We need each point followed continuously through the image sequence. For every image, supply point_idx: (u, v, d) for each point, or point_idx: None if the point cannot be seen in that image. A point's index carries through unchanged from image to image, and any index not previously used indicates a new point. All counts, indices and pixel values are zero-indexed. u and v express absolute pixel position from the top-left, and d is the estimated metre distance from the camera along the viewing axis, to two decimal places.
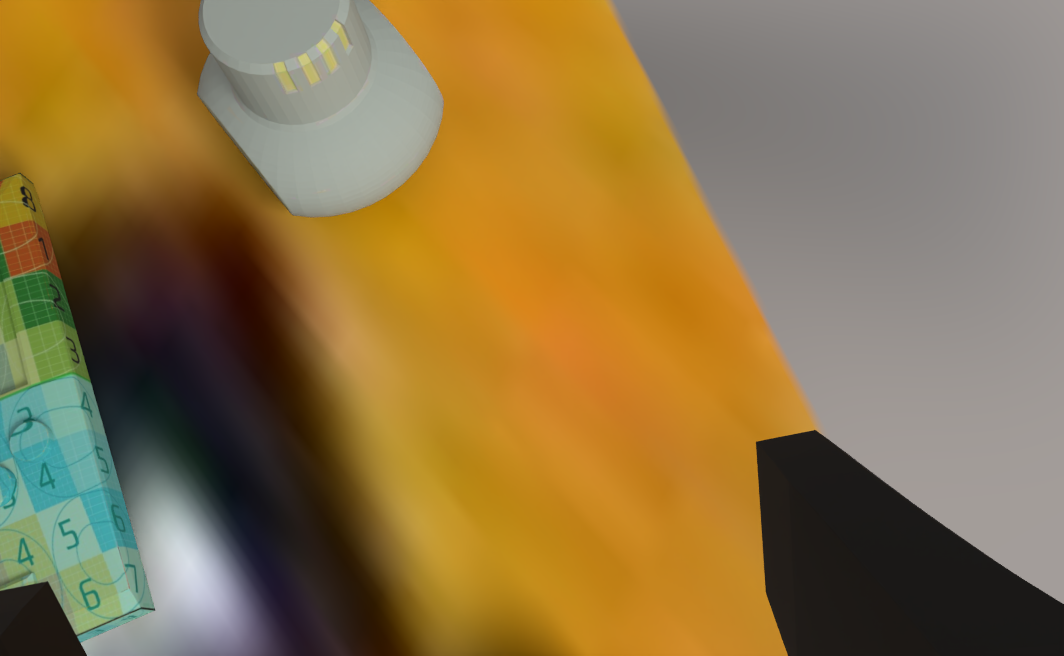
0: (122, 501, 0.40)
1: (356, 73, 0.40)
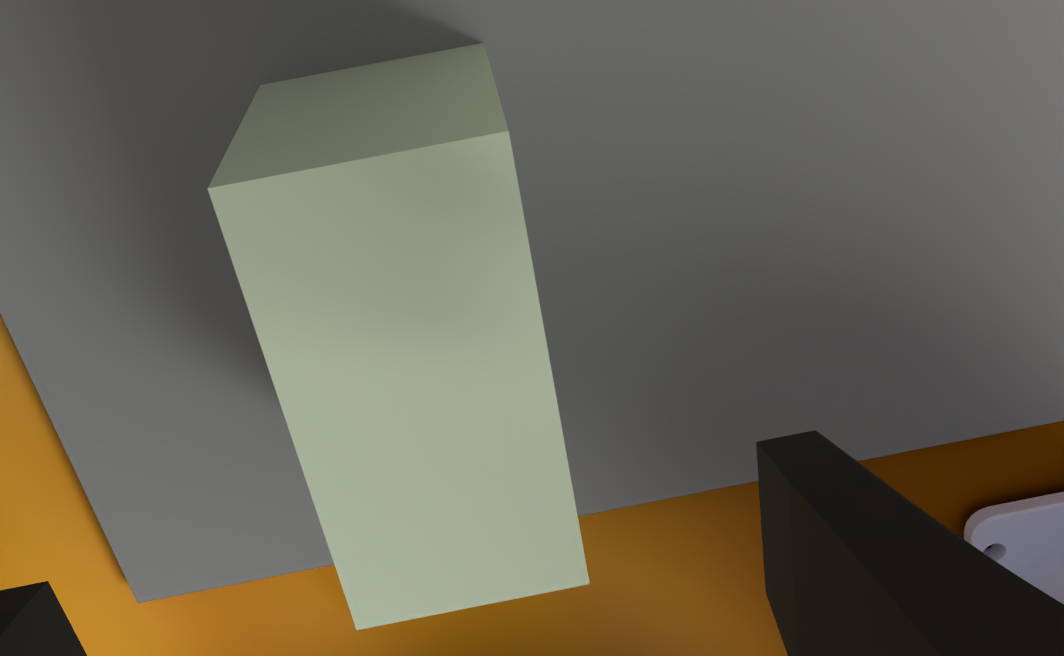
0: None
1: None
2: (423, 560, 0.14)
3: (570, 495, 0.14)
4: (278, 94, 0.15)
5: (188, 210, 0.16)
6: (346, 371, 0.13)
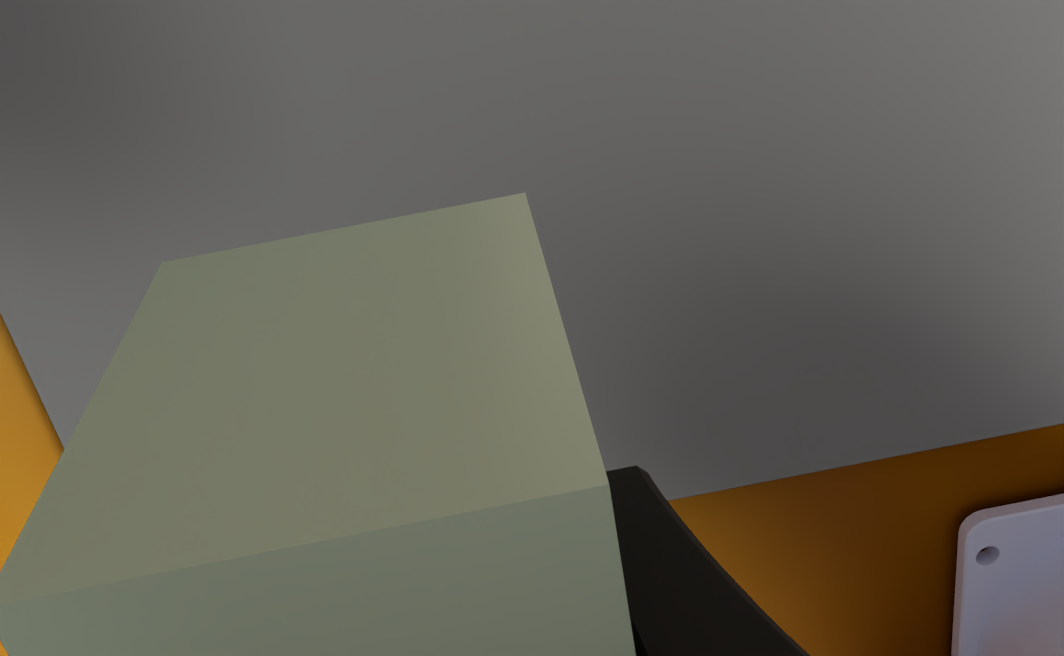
0: None
1: None
2: None
3: None
4: (183, 293, 0.09)
5: (189, 215, 0.17)
6: None
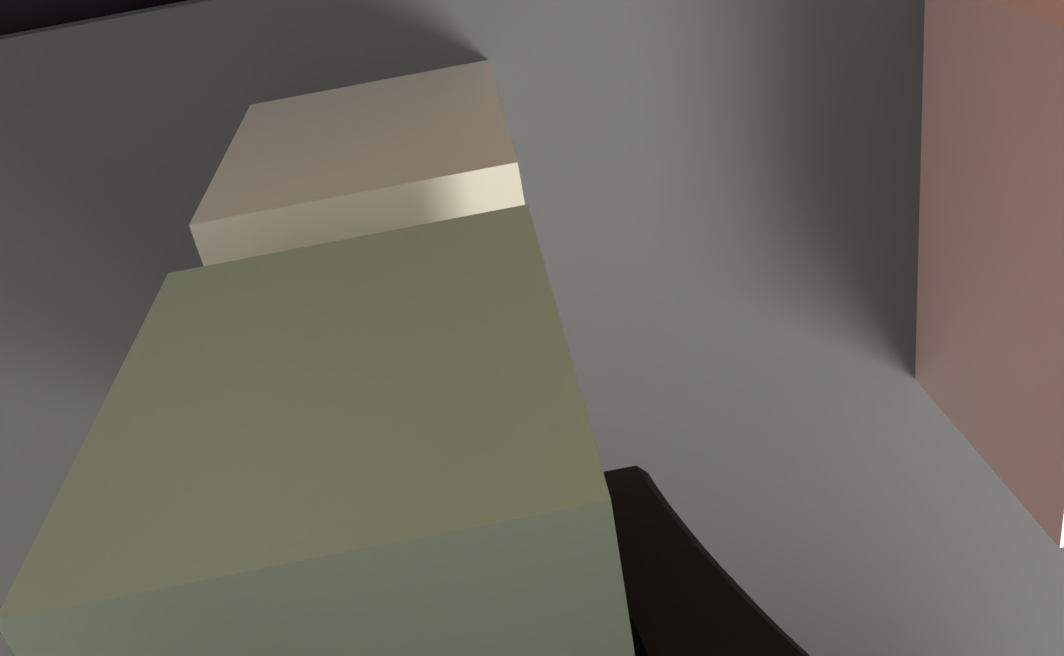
0: None
1: None
2: None
3: None
4: (190, 305, 0.09)
5: None
6: None
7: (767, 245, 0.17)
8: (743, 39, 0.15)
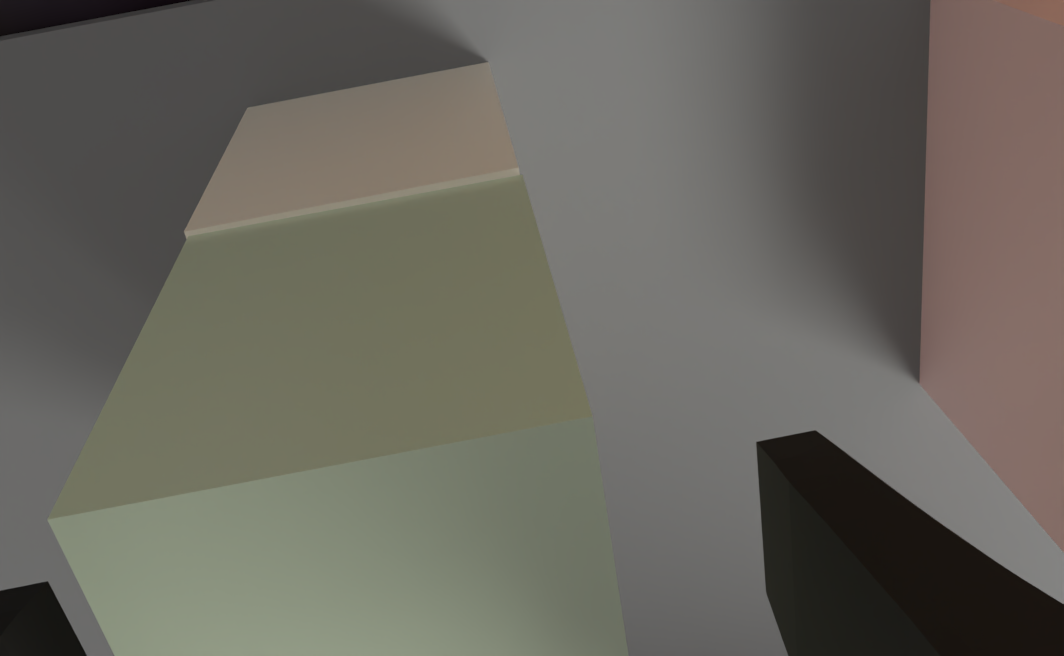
0: None
1: None
2: None
3: None
4: (210, 263, 0.10)
5: None
6: None
7: (770, 249, 0.16)
8: (746, 41, 0.15)
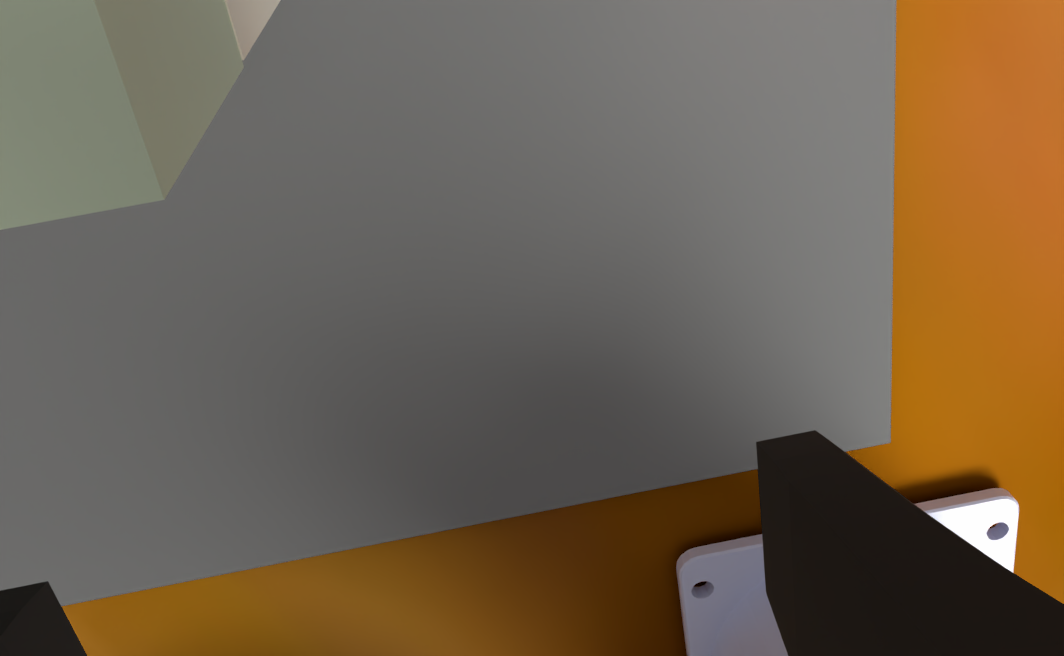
0: None
1: None
2: None
3: None
4: None
5: None
6: None
7: None
8: None
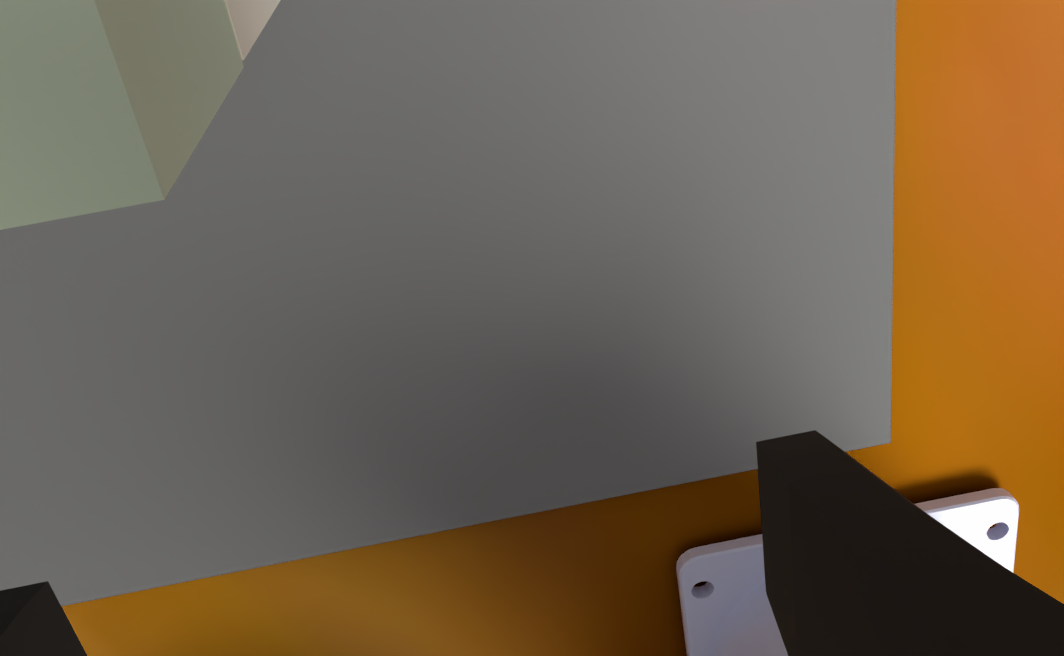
0: None
1: None
2: None
3: None
4: None
5: None
6: None
7: None
8: None
